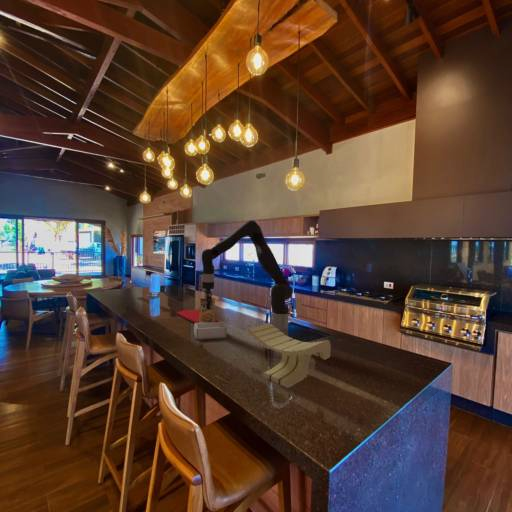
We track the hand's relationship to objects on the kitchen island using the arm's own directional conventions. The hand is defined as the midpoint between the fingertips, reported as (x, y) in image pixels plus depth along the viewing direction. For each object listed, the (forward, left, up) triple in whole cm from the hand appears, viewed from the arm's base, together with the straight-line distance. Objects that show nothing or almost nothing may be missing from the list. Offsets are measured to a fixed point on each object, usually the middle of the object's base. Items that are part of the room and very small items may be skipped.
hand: (207, 307), depth 172 cm
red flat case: (+25, +2, -14) cm, 29 cm away
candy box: (0, 0, -9) cm, 9 cm away
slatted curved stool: (-70, -22, -14) cm, 74 cm away
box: (-12, 0, -14) cm, 18 cm away
